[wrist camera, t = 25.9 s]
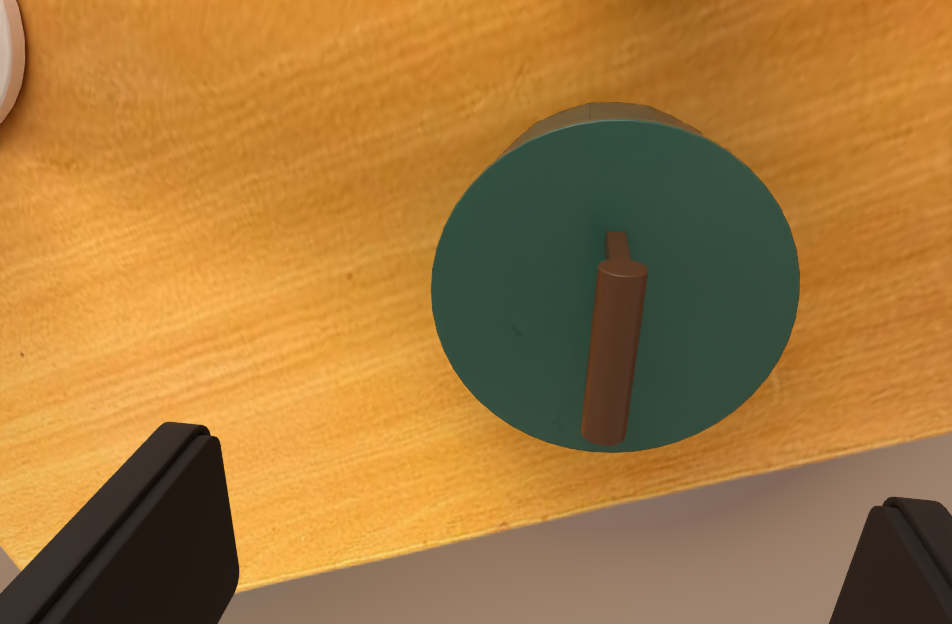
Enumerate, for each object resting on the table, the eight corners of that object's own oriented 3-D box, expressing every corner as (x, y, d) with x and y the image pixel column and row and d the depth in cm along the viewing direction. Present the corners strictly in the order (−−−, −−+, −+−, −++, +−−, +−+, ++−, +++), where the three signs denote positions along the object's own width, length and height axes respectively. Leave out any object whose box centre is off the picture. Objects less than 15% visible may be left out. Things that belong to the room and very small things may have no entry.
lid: (436, 421, 30) (405, 512, 24) (435, 105, 24) (395, 135, 19) (753, 453, 28) (792, 556, 23) (831, 123, 23) (907, 160, 17)
